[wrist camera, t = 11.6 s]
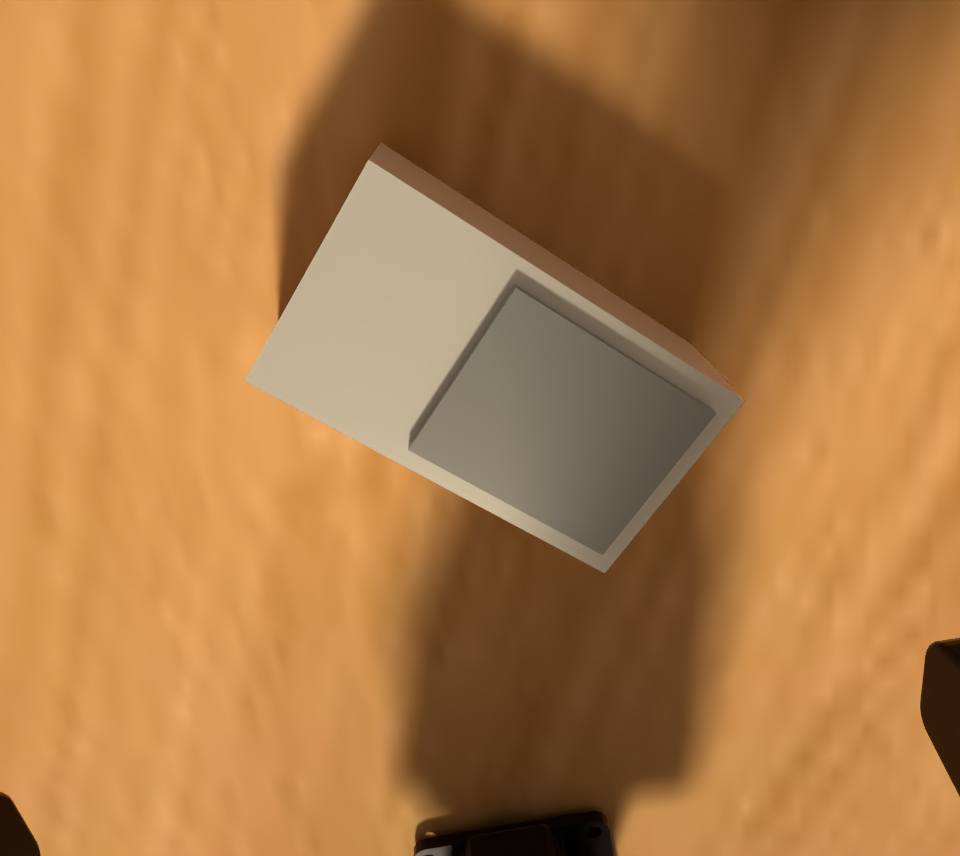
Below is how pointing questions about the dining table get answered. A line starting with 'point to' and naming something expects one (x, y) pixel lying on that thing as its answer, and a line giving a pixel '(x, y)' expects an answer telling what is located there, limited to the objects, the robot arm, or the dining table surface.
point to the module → (491, 365)
